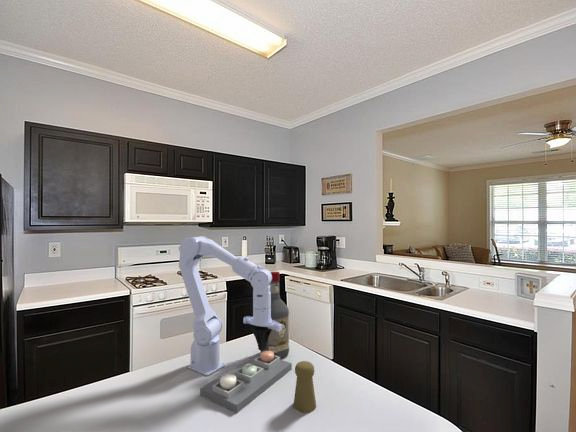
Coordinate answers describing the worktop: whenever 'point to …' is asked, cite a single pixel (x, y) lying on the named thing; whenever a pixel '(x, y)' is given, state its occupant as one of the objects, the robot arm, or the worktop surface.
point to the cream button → (228, 381)
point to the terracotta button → (267, 356)
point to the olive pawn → (304, 387)
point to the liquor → (280, 314)
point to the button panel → (246, 383)
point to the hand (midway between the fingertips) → (262, 349)
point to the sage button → (249, 370)
